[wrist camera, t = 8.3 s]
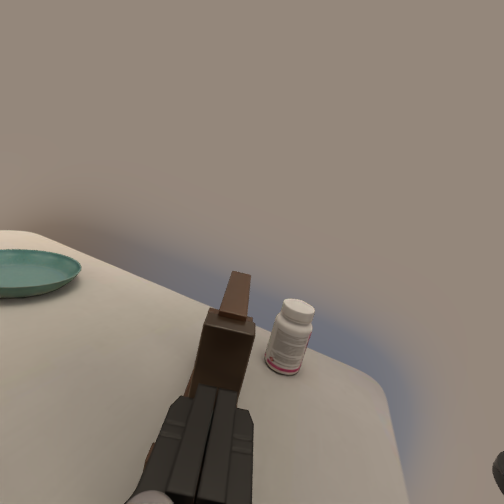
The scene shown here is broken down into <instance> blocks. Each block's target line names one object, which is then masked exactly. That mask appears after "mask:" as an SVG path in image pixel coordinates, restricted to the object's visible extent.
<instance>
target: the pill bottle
mask: <svg viewBox="0 0 504 504" xmlns="http://www.w3.org/2000/svg"><path fill="white" fill-rule="evenodd" d="M314 313H315V309H314V308H313V307H312V306H311V305H309V304H308V303H306V302H303V301H301V300H297V299H285V300H284V302H283V305H282V309H281V312H280V313H279V314H277V316H276V318H275V322H274V325H273V329H272V332H271V336H270V339H269V343H268V346H267V349H266V353H265V361H266V363H267V364H268V366H269V367H270V368H271V369H273V370H274V371H276V372H278V373H281V374H286V375H292V374H295V373H297V372H298V371H299V369H300V366H301V363H302V360H303V357H304V354H305V351H306V348H307V345H308V341H309V338H310V336H311V333H312V324H311V322H312V320H313V317H314Z"/></svg>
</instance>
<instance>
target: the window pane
mask: <svg viewBox="0 0 504 504" xmlns="http://www.w3.org/2000/svg"><path fill="white" fill-rule="evenodd" d="M250 280H251V275H249V274H244V273H240V272H236V271H232V273H231V276H230V279H229V282H228V285H227V288H226V291H225V294H224V297H223V300H222V303H221V306H220V309H219V313H218V314H214V313H208V314H207V317H206V319H205V322H204V324H203V328H202V333H201V338H200V342H199V347H198V352H197V356H196V361H195V366H194V370H193V375H192V379H191V384H190V389H189V393H188V397H190V398H194V397H195V394H196V391H197V387H198V384H199V383H200V384H205V385H209V386H214V387H217V392H216V397H217V393H218V389H219V388H223V389H228V390H232V391H237V402H238V398H239V394H240V390H241V387H242V383H243V379H244V376H245V372H246V368H247V365H248V361H249V357H250V354H251V350H252V346H253V342H254V339H255V323H253V322H249V321H246V319H247V312H248V301H249V290H250ZM216 397H215V401H216ZM215 401H214V406H215ZM236 405H237V403H236ZM214 406H213V410H214ZM212 414H213V411H212ZM211 418H212V415H211ZM210 422H211V420H210ZM209 426H210V425H209ZM208 431H209V430H208ZM207 435H208V434H207ZM206 440H207V439H206Z"/></svg>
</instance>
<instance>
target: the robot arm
mask: <svg viewBox="0 0 504 504" xmlns="http://www.w3.org/2000/svg"><path fill="white" fill-rule="evenodd" d="M216 392H217V387H214V386H209V385H205V384H200V383H199V384H198V387H197V391H196V394H195V397H194V398H190V397H185V396H180V397H179V398H178V399H177V400H176V401H175V402H174V403H173V404H172V405H171V406H170V408H169V411H168V413H167V415H166V418H165V421H164V423H163V425H162V428H161V430H160V433H159V435H158V437H157V440H156V442H155V445H154V447H153V449H152V452H151V454H150V457H149V459H148V462H147V464H146V466H145V469H144V471H143V474H142V476H141V479H140V481H139V483H138V486H137V488H136V490H135V491H134V493H133V494H132V496H131V497H130V498H129V499H128V500H127V501H126V502H125V503H124V504H252V474H253V430H254V424H253V421H252V419H251V416H250V413H249V411H248V410H244V409H240V408H236V403H237V391H232V390H228V389H223V388H219V389H218V393H217V397H216ZM215 397H216V401H215ZM214 401H215V406H214ZM213 406H214V410H213ZM212 411H213V414H212ZM211 415H212V418H211ZM210 420H211V422H210ZM209 425H210V426H209ZM208 430H209V431H208ZM207 434H208V435H207ZM206 439H207V440H206ZM203 453H204V454H203ZM202 458H203V459H202ZM200 467H201V468H200ZM199 472H200V473H199ZM198 477H199V478H198ZM196 486H197V487H196ZM195 491H196V492H195ZM194 496H195V497H194ZM193 500H194V501H193Z"/></svg>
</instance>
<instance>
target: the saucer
mask: <svg viewBox="0 0 504 504" xmlns="http://www.w3.org/2000/svg"><path fill="white" fill-rule="evenodd" d="M80 271H81V265H80V263H79V262H78V261H76V260H74V259H73V258H70V257H68V256H65V255H61V254H57V253H52V252H46V251H38V250H21V249H12V250H11V249H6V250H0V298H18V297H29V296H35V295H41V294H45V293H48V292H51V291H54V290H56V289H58V288H60V287H62V286H64V285H65V284H67V283H68V282H70V281H71V280H72V279H74V278H75V277H76V276H77V275H78V274H79V272H80Z"/></svg>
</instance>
